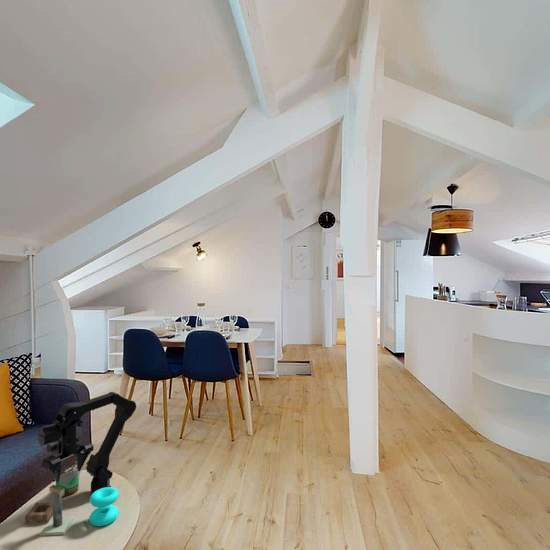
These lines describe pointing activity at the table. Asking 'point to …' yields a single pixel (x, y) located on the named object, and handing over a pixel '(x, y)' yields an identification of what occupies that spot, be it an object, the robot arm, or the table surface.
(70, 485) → the food container
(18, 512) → the table surface
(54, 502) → the t key
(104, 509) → the donuts
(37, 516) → the socket block
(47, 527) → the mat
